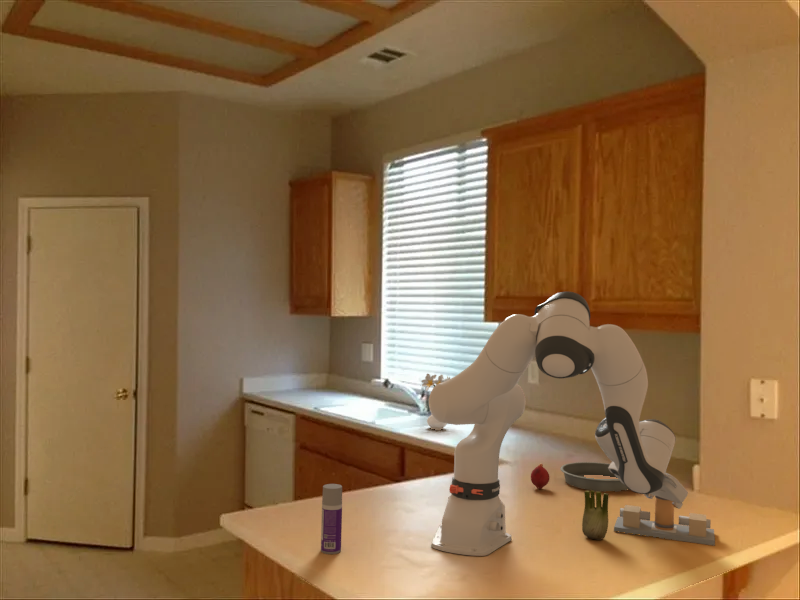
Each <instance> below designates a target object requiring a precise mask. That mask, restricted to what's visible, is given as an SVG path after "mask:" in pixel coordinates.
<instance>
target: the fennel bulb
mask: <svg viewBox="0 0 800 600" xmlns="http://www.w3.org/2000/svg"><path fill="white" fill-rule="evenodd" d="M581 527H582V528H581V529H582V533H583V535H584V536H585V537H586V538H588V539H590V540H591V539H592V540H595V541H600V540H603V539H605V537H606V535H607V533H608V530H609V529H608V527H609V493H607V492H606V493H605V492H604V493H603V496H602V491H594V490H584V509H583V515H582V523H581Z"/></svg>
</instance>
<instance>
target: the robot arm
mask: <svg viewBox="0 0 800 600" xmlns="http://www.w3.org/2000/svg"><path fill="white" fill-rule="evenodd" d="M590 321H591V310H590V306H589V304H588V301H586V299H585V298H584V297H583V296H582V295H581V294H579V293H577V292H573V291H560V292H557V293H555V294H553V295H552V296H550V297H549V298H548V299H547V300H546V301H545V302H543V303H541V304H538V305H537V306H536V307H535V308H534V315H533V316H529V315H525V314H521V313H520V314H519V313H518V314H517V313H516V314H512V315H510V316H507V317H506V318H505V319H504V320H503V321H502V322H501V323H500V324H499V325H498V326H497V327H496V329H495V330H494V331H493V333H491V335H490V337H489V338H488V340H487V342H486V343H485V345H484V347H483V348H482V350H481V352H480V353H479V354H478V356H477V358H476V359H475V360H474V361H473V362H472V363H471V364H469V366H468V367H466V368H465V369H463V370H461V372H459V373H458V374H456V375H455V376H453V377H450V379H449V380H447V381H445V382H442V383H439V384H437V385H436V384H435V387H434V386H433V387H434V388H433V387H432V389H431V391H430V394H429V398H428V406H429V408H428V409H429V410H430V413H431V414H432V415H433V417H434V418H435V419H436V420H437V421H438V422H442V423H447V425H455V426H458V425H459V426H463V425H474V426H473V428H472V430H471V431H470V433H469V434H468V435H467V436H466V437H464V438H463V439H461V440H460V441H459V442H457V444H456V446H455V449H454V457H453V458H454V463H453V464H454V466H453V476H452V479H451V484H450V486H449V494H450V495H449V496H448V499H447V502H446V506H445V509H444V512H443V516H442V519H441V524H439V525H438V528H437V530H436V532H435V534H434V535H433V539H432V541H431V548H433V549H435V550H439V551H443V552H447V553H451V554H455V555H456V554H458V555H464V556H477V557H479V556H480V557H481V556H482V557H483V556H485V557H486V556H488V555H490V554H491V553H494V551H496V550H498V549H499V548H501V547H502V546H504V545H506V544H507V543H509V542H510V541H512V535H511V534H510V533H508V532H506V531H507V530H506V529H507V528H506V505H505V503H503V501H502V499H500V496H499V495H500V489H501V483H500V482H501V481H500V479H499V463H500V452H501V447H502V443H503V441H504V440H505V439H504V438H505V437H506V435H507V432H508V431H509V429H510V428H511V426H512V425H514V423H515V422H516V421H518V420H519V419H520V418H521V417H522V416H523V414H524V412H525V409H526V404H527V398H526V394H525V391H524V390H523V388H522V386H521V385H520V384H519V381H520V379H521V378H522V377H523V375H524V373H525V372H526V371H527V369H528V367H529V366H530V364H531V363H532V361H533V360H534V359H535V361H536V365H537V367H538V369H539V370H540V371H541V372H542V374H545V375H546V376H548V377H552V378H555V379H569V378H573V377H576V376H578V375H584V374H586V373H587V372H588V371H590V369H591V372H592V374H593V376H594V379H595V381H596V383H597V386H598V388H599V392H600V396H601V399H602V404H603V408H604V415H605V417H604V418H603V419H602V420H600V422H599V423H598V425H597V427H596V428H595V433H594V436H595V440H596V442H597V444H598V446H599V447H600V449H601V450H602V451H603V453H604V454H605V456H606V457H607V458H608V459H609V460H610V461H611V462H610V463H609V464H610V465H609V467H608V469H609V471H610V472H611V473H613V474H614V475H615V476H616V477H617V478H618V479H619V480H620V481H621V482H622V483H623V484H624V485H626V487H627V488H629V489H628V490H630V491H632V492H633V493H636V494H641V495H644V496H645V497H646V498H647V499H649V500H653V498H654V497H655V496H658V497H661V498H664V499H667V500H670V501H673V503H672V505H673V506H674V509H681V508H682V507H683V503H684V501H685V499H686V498H687V497H688V494H689V493H688V490H687V489H686V488H685V487H684V485H683V484H682V483H681V482H680V481H679V479H677V478H676V477H675V476H674V475H672V474H670V473H668V472H667V468H668V465H669V463H670V460H671V457H672V453H673V451H674V448H675V447H674V446H675V444H676V440H677V438H676V435H675V433H674V431H673V430H672V429H671V427H670V426H668V425H667V424H666V423H664V422H662V421H660V420H659V419H656V418H655V419H654V418H653V419H651V418H650V419H649V418H648V419H644V420H640V418H641V414H642V410H643V406H644V403H645V399H646V396H647V393H648V387H649V381H648V380H649V379H648V373H647V368H646V366H645V363H644V361H643V358H642V356H641V354H640V352H639V350H638V348H637V347H636V345H635V343H634V342H633V340H632V338H631V337H630V336H629V335H628V333H627V332H626V331H625V330H624V329H623V328H622V327H621V326H618V325H616V324H611V323H610V324H609V323H607V324H601V325H600V326H599V325H598V326H597V327H595V326H592V325H590V323H591V322H590Z"/></svg>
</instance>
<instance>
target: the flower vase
mask: <svg viewBox="0 0 800 600" xmlns="http://www.w3.org/2000/svg"><path fill="white" fill-rule="evenodd" d="M436 378H437V379H436ZM449 379H451V377H450V376H448V375H446V378H444V375H443V374H440V375H439V376H438V377H437V374H434V375H431V374H430V373H426V375H425V377H424V379H422V380H421V387H423V388H424V387H425V391H428V390H429V389H430V388H431V387H432V389H433V388H434V387H435V386H436V385H437V384H439V383H442V382H445V381H447V380H449ZM426 422H427V423H426V424H427V425H428V426H429V427H430V428H431V429H430V428H429V429H430V430H432V429H435V430H434V431H442V430H441V429H443V430H444V428H445V427H446V426H447V425H448V424H447V423H442V422H438V421H437V420H436V419H435V418H434V417H433V415H432V413H431V415H430V416H428V417H427V420H426Z"/></svg>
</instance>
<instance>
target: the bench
mask: <svg viewBox="0 0 800 600" xmlns="http://www.w3.org/2000/svg"><path fill="white" fill-rule="evenodd" d="M654 521H655V520H654ZM654 521H652V520H651V511H645V510H642V507H641V506H638V505H637V506H636V505H631V504H629V505H628V504H625V505H624V508H623V507H620V508H619V516H617V518H616V521H615V524H614V526H613V532H614V531H619V532H618V533H620V532H625V533H624V534H628V533H633V534H632V535H635V534H640V535H639V536H642V535H646V536H645V537H649V536H653V537H652V538H656V537H659V538H658V539H664V538H665V540H671V539H672V540H673V541H677V542H678V541H680V542H685V543H686V542H687V543H695V544H701V545H708V546H715V545H716V540H715V539H716V538H715V529H714V528H711V521H712V520H711V519H708V518H707V514H702V513H695V512H689V515H688V516H685V515H678V524H676V523H674V529H673V530H661V529H658V528H656V527H655V525H654Z"/></svg>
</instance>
